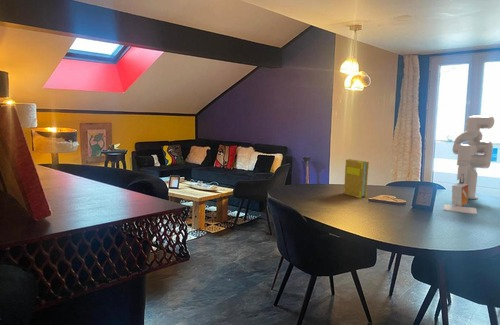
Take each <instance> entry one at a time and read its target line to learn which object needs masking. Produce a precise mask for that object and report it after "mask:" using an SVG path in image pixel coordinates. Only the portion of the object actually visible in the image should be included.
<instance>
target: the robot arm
mask: <svg viewBox="0 0 500 325" xmlns="http://www.w3.org/2000/svg"><path fill="white" fill-rule="evenodd" d="M465 123H466V125H465V130H464V132H462V133H460V134H459V135H457V137H455V139H454V142H453V144H452V153H453V154H454V155H457V160H456V166H458V167H457V177H456V180H457V181H459V182H458V183H463V184H468V200H476V199H479V197H478V195H476V193H477V192H476V191H477V185H478V184H477V182H478V172H477V171H476V169H489V168H490V166H491V162H492V155H493V148H494V146H493V143H492V141H489V140H483V133H482V132H481V131H480V129H481V130H482V129H485V130H489V129H492V128H493V127H494V125H495V118H494V116H493V115H491V116H490V115H471V116H468V117H467V118H466V122H465ZM464 142H467V143H464Z"/></svg>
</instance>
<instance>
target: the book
mask: <svg viewBox="0 0 500 325" xmlns="http://www.w3.org/2000/svg"><path fill="white" fill-rule="evenodd" d="M369 164H370V162H369V161H365V160H360V159H359V160H357V159H351V158H350V159H347V158H346V159H345V169H344V183H343V184H344V185H343V186H344V187H343V194H344V195H347V196H352V197H355V198H359V199H361V198H367V195H368V189H367V188H368V177H369V175H368V174H369Z"/></svg>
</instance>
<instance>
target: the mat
mask: <svg viewBox="0 0 500 325" xmlns="http://www.w3.org/2000/svg"><path fill="white" fill-rule="evenodd" d="M443 211H447V212H452V213H453V212H456V213H463V214H469V215H478V210H477V207H470V206H469V207H468V206H464V205H463V206H457V205H452V204H445V203H444V204H443Z"/></svg>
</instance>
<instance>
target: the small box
mask: <svg viewBox="0 0 500 325" xmlns="http://www.w3.org/2000/svg"><path fill="white" fill-rule="evenodd" d="M451 188H452V189H451V205H454V206H463V207H464V206H465V205H467V204H468V202H469V199H468V184H463V183H459V182H458V183H455V184H452V186H451Z"/></svg>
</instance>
